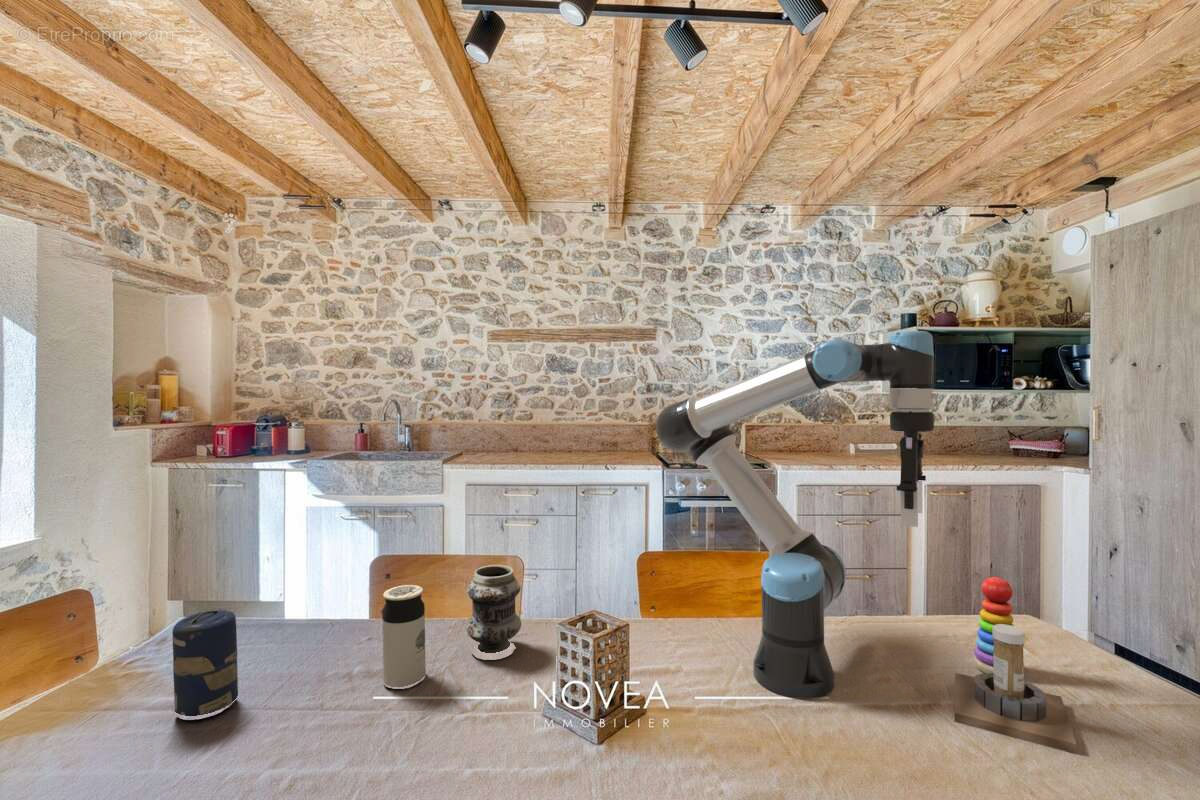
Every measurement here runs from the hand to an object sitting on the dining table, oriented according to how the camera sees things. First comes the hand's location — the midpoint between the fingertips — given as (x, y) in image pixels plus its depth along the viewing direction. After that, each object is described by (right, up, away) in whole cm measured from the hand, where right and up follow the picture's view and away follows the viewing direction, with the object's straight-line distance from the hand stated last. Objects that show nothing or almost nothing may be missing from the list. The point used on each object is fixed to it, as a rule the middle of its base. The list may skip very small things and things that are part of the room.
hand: (912, 519), depth 108 cm
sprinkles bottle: (+11, -30, -11) cm, 34 cm away
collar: (+11, -30, -11) cm, 34 cm away
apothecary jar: (-85, -33, +14) cm, 92 cm away
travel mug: (-100, -33, +2) cm, 106 cm away
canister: (-133, -33, -8) cm, 137 cm away
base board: (+11, -32, -11) cm, 35 cm away
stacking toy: (+19, -32, +3) cm, 37 cm away
